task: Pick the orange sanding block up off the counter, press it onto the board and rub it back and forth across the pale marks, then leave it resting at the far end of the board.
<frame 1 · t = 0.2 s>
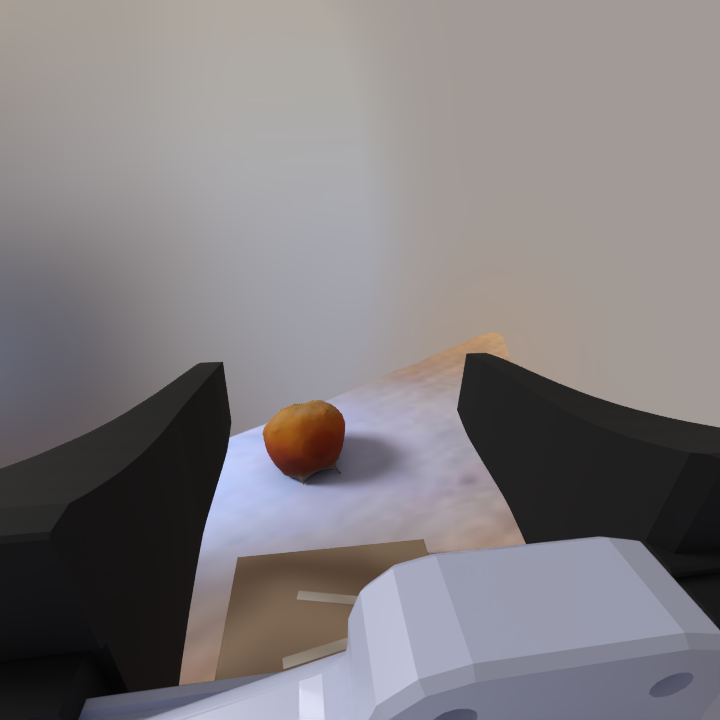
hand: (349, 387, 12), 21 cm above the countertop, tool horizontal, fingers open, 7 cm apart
fruit: (308, 463, 41), on the countertop
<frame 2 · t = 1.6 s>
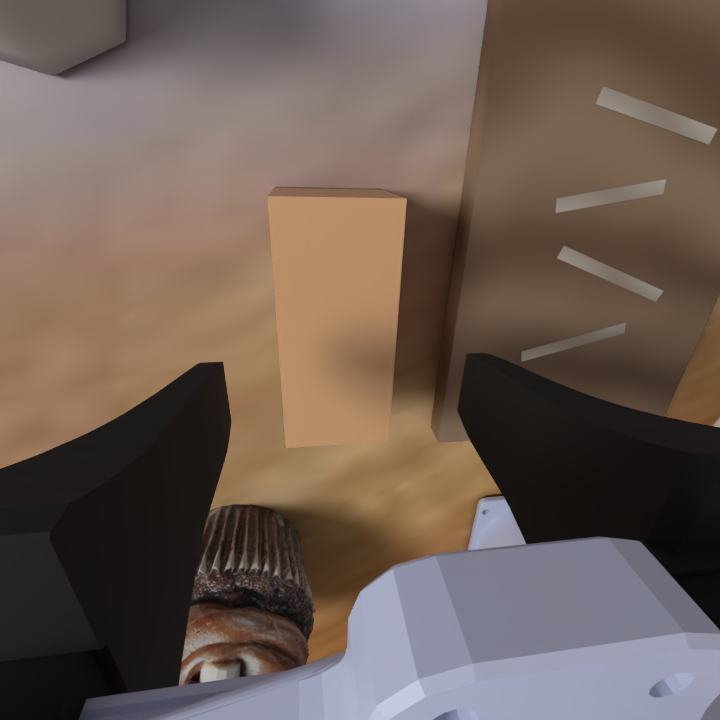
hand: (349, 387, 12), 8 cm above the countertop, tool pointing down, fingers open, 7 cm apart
board: (585, 257, 20), on the countertop
cupcake: (240, 545, 26), on the countertop
sanding block: (329, 298, 19), on the countertop
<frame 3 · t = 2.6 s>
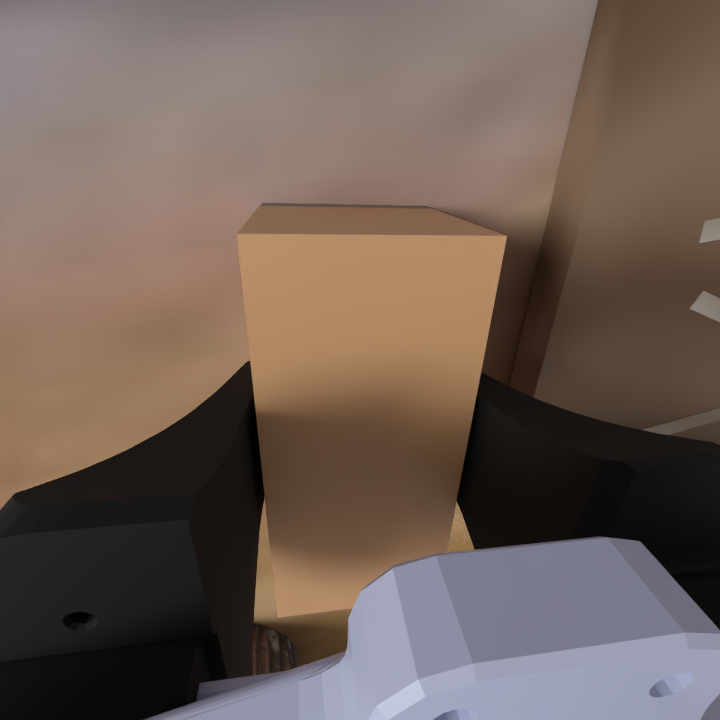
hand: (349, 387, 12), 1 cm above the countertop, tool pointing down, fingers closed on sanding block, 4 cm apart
board: (713, 301, 14), on the countertop
cupcake: (222, 664, 20), on the countertop
sanding block: (343, 365, 13), on the countertop, touching gripper
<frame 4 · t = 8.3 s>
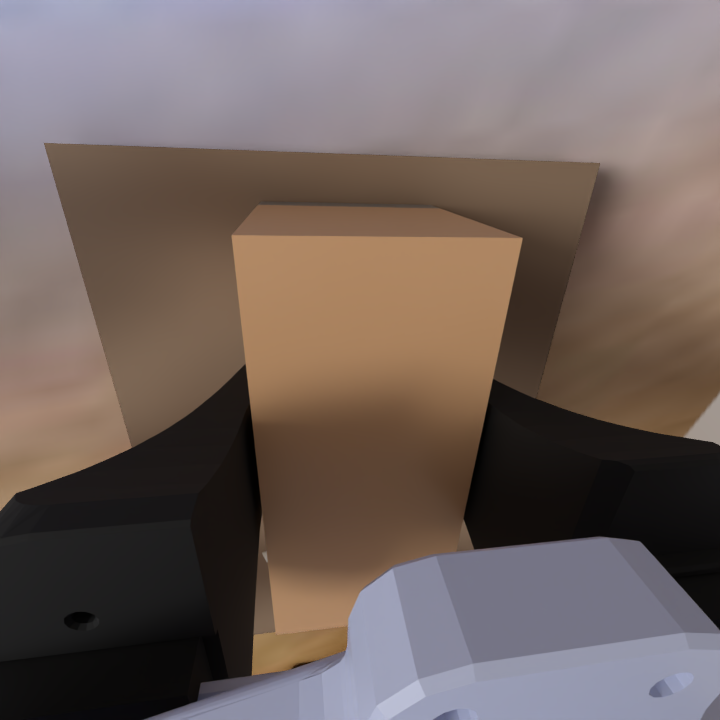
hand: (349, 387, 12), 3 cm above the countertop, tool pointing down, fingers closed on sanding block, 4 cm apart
board: (340, 436, 16), on the countertop
sanding block: (345, 370, 13), point 2 cm above the countertop, touching gripper
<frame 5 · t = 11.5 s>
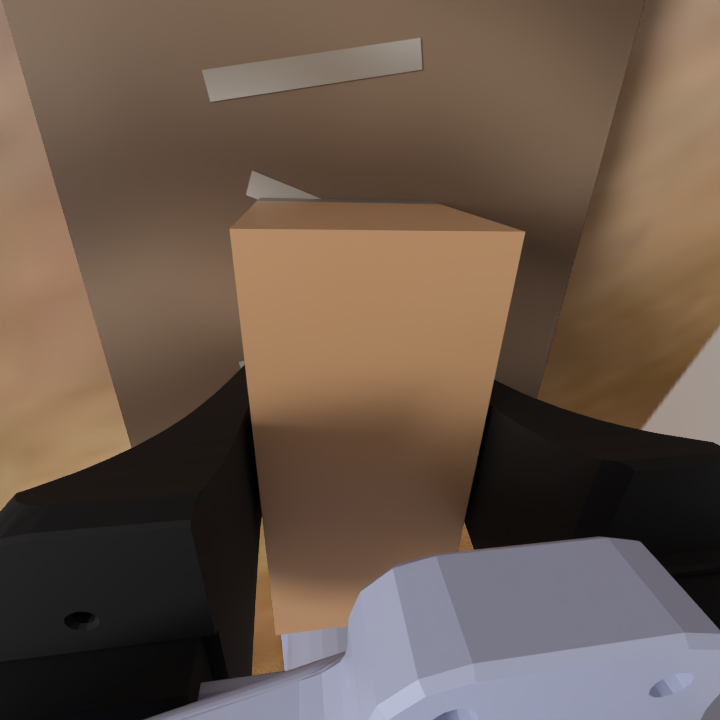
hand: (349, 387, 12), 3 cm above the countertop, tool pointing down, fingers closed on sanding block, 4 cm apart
board: (342, 203, 12), on the countertop
sanding block: (345, 368, 13), point 2 cm above the countertop, touching gripper
when the fingers open (3 cm above the countertop, at t = 13.9 s): sanding block stays where it is, resting on board.
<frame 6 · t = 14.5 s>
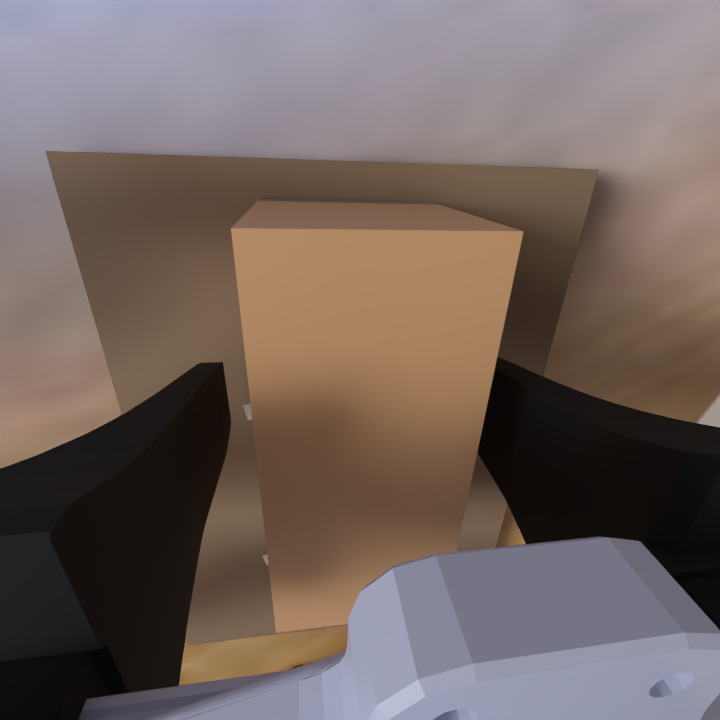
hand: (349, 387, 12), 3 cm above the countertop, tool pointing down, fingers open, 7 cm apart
board: (340, 439, 16), on the countertop
sanding block: (345, 367, 13), point 2 cm above the countertop, touching board
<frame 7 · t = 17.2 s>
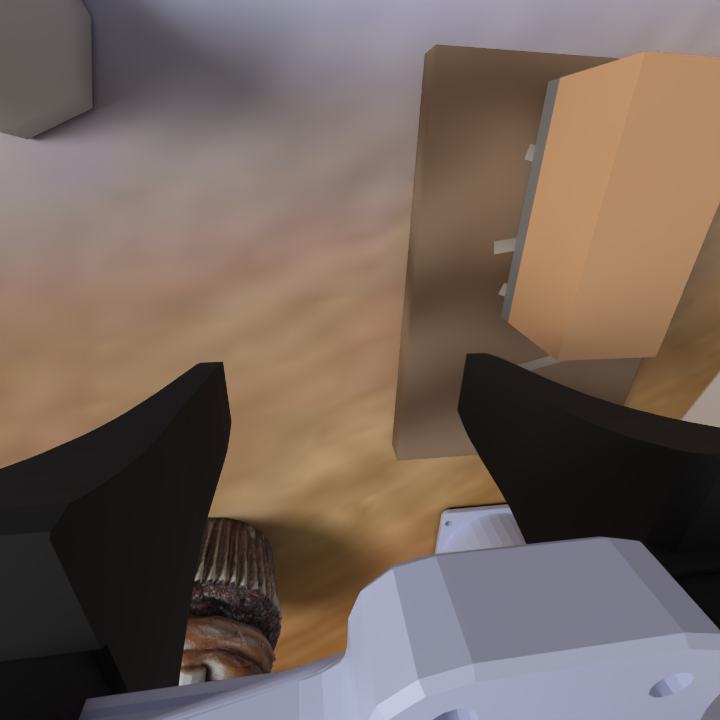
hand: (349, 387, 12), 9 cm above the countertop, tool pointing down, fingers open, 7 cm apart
board: (529, 290, 22), on the countertop
cupcake: (215, 555, 28), on the countertop
sanding block: (566, 214, 18), point 2 cm above the countertop, touching board
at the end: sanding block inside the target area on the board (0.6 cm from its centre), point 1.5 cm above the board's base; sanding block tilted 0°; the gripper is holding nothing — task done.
